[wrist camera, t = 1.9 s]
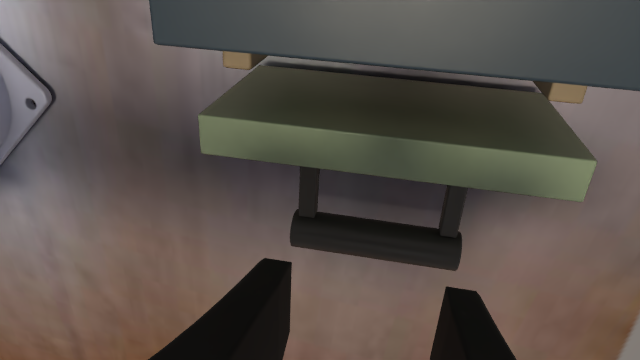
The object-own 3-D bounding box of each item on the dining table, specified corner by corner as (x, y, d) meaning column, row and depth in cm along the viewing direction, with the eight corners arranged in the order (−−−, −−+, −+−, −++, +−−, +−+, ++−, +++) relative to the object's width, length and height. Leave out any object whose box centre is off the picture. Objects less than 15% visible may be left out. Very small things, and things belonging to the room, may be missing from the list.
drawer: (504, 232, 19) (535, 336, 14) (260, 198, 21) (209, 282, 16) (670, -361, 11) (874, -602, 6) (255, -351, 13) (149, -541, 8)
